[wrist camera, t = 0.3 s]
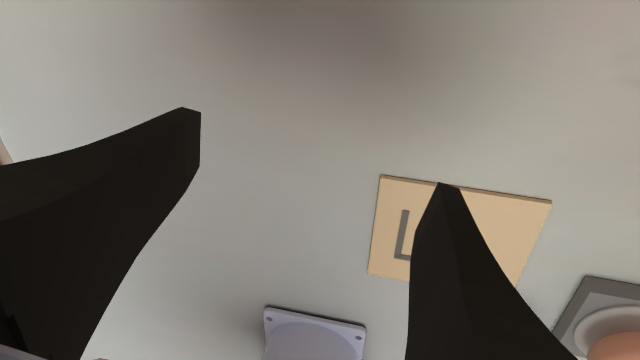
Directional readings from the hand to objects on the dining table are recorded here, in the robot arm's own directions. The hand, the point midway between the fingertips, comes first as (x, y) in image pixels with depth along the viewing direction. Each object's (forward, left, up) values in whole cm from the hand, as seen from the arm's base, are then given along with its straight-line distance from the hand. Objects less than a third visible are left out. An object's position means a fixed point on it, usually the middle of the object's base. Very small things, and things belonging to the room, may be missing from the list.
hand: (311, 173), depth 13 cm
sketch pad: (-11, -6, -10) cm, 16 cm away
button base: (-15, -17, -10) cm, 25 cm away
